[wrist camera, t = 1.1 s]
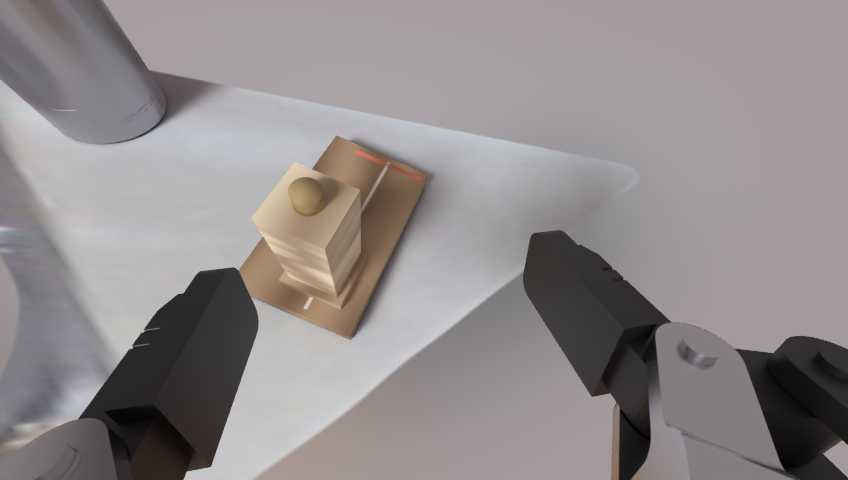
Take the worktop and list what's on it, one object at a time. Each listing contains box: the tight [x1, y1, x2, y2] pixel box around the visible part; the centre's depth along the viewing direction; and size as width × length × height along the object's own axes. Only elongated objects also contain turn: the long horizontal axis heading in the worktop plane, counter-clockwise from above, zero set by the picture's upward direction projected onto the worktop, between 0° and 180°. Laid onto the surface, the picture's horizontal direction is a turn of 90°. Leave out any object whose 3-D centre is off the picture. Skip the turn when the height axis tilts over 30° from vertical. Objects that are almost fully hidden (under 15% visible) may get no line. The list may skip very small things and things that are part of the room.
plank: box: [239, 136, 428, 340], centre depth 29 cm, size 10×17×2 cm, turn 159°
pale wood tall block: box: [252, 162, 369, 310], centre depth 21 cm, size 5×6×11 cm
